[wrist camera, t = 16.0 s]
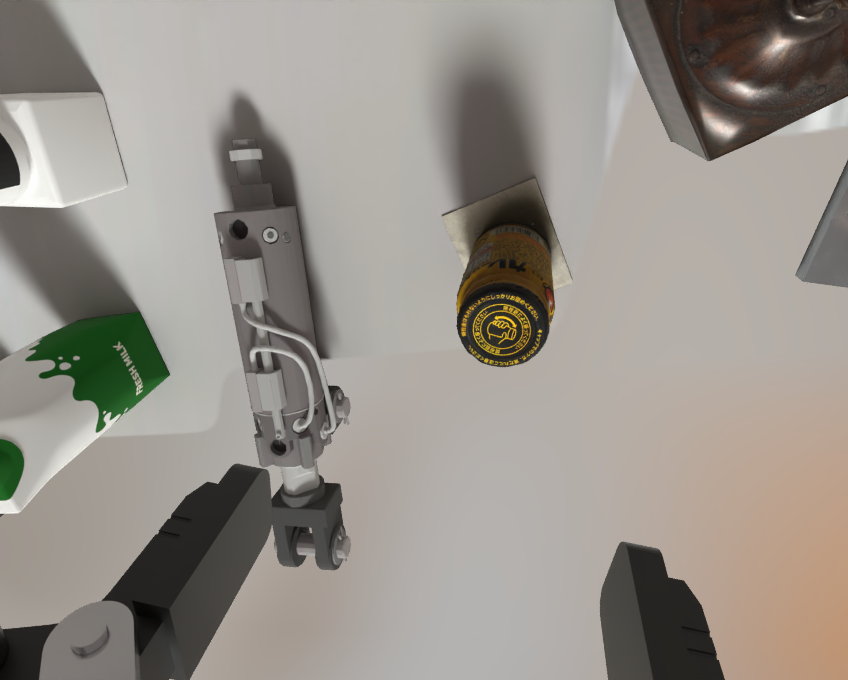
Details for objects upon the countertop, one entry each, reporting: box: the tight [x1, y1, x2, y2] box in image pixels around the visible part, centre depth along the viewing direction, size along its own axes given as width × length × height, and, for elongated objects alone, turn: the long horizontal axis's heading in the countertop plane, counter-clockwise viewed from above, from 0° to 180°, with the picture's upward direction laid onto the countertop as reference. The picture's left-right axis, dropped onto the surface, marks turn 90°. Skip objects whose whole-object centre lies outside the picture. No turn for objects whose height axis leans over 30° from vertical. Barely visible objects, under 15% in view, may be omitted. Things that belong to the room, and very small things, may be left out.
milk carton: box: [0, 312, 170, 514], centre depth 42 cm, size 9×9×20 cm
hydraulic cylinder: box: [214, 139, 351, 570], centre depth 43 cm, size 7×37×10 cm, turn 7°
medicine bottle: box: [0, 92, 128, 208], centre depth 36 cm, size 7×7×12 cm
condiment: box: [442, 178, 573, 367], centre depth 34 cm, size 7×8×12 cm
